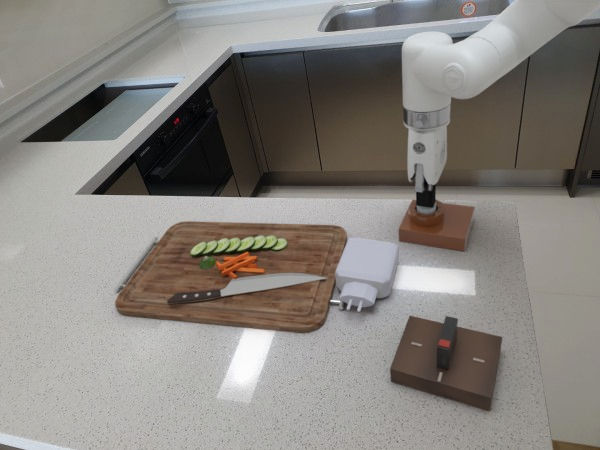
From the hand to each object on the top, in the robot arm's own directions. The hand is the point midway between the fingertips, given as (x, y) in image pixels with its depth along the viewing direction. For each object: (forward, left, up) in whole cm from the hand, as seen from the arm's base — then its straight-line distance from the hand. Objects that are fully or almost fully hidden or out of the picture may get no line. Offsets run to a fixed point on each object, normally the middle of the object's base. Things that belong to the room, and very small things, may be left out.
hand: (425, 204), depth 86 cm
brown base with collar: (-2, 0, -6) cm, 6 cm away
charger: (+6, +19, -6) cm, 21 cm away
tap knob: (-10, +30, -3) cm, 32 cm away
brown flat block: (-10, +30, -6) cm, 32 cm away
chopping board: (+31, +21, -6) cm, 38 cm away
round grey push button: (0, 0, -2) cm, 2 cm away
